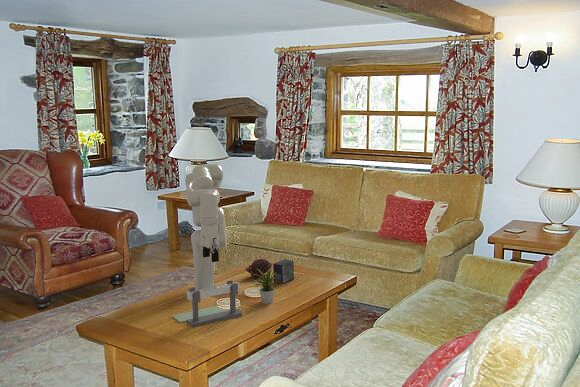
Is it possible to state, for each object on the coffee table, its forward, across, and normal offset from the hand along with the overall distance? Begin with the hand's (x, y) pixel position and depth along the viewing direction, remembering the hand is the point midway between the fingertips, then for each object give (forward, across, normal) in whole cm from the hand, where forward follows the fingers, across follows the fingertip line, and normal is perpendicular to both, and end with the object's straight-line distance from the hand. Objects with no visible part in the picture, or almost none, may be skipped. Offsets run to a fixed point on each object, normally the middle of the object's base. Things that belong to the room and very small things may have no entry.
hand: (210, 259), depth 262 cm
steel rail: (+16, 0, +1) cm, 16 cm away
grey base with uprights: (+27, 0, +1) cm, 27 cm away
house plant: (+27, -9, +32) cm, 43 cm away
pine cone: (+26, -45, +46) cm, 70 cm away
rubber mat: (+27, -9, +1) cm, 29 cm away
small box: (+27, -32, +54) cm, 68 cm away
